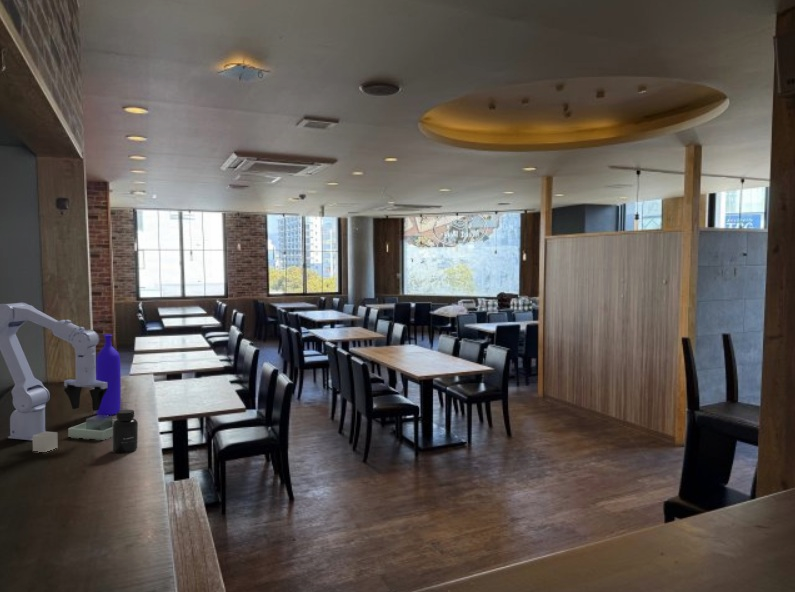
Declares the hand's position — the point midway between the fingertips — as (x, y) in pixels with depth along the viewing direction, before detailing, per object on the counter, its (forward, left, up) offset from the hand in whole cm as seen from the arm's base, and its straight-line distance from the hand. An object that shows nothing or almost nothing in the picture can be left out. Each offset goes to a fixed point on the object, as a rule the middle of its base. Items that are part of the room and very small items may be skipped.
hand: (85, 409), depth 179 cm
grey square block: (+1, +5, -9) cm, 10 cm away
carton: (-2, -13, -9) cm, 17 cm away
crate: (+1, +5, -9) cm, 11 cm away
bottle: (-14, +28, -10) cm, 33 cm away
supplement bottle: (+21, -7, -10) cm, 24 cm away
